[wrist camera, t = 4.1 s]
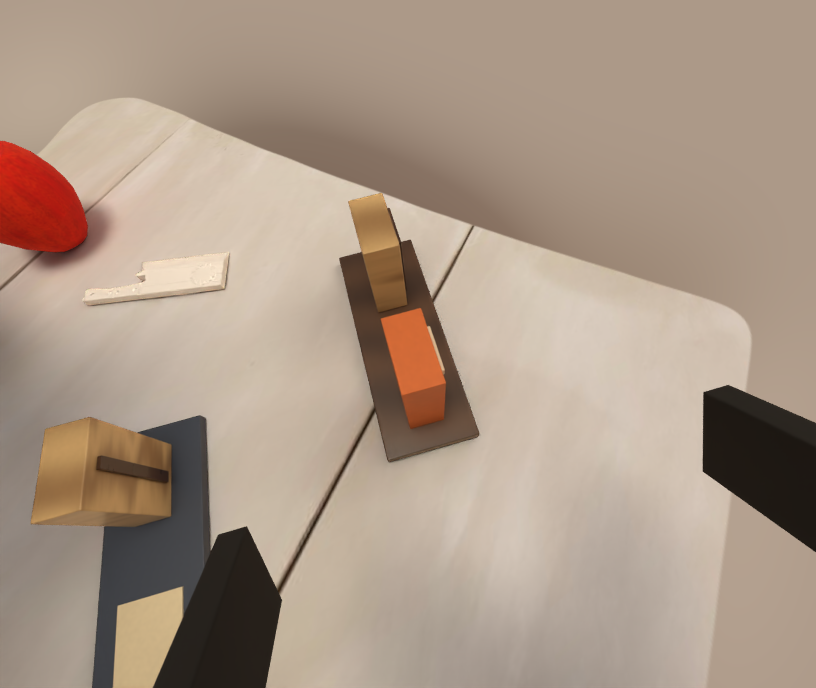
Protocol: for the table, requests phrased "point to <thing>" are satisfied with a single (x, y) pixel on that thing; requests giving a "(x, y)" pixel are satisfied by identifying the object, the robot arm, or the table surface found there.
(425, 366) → the orange rectangular block
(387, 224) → the tan rectangular block
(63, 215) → the apple
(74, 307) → the table surface
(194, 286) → the white plastic strip tool
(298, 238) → the table surface
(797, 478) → the robot arm
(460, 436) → the word board
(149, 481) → the letter i
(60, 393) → the table surface
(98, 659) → the word board
